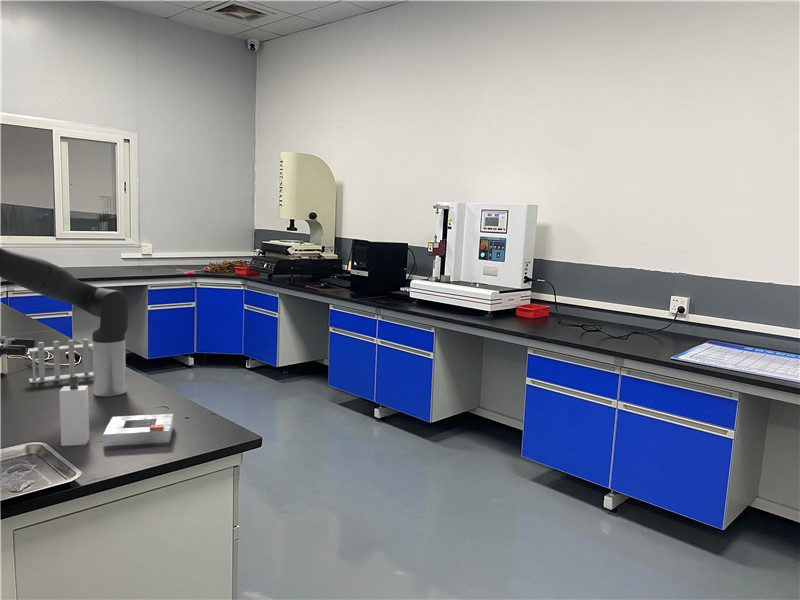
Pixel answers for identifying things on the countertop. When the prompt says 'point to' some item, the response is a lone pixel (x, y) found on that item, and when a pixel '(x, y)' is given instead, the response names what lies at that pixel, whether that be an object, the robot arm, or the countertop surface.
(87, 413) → the plug
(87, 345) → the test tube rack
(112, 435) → the socket box
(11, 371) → the countertop surface
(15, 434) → the countertop surface
